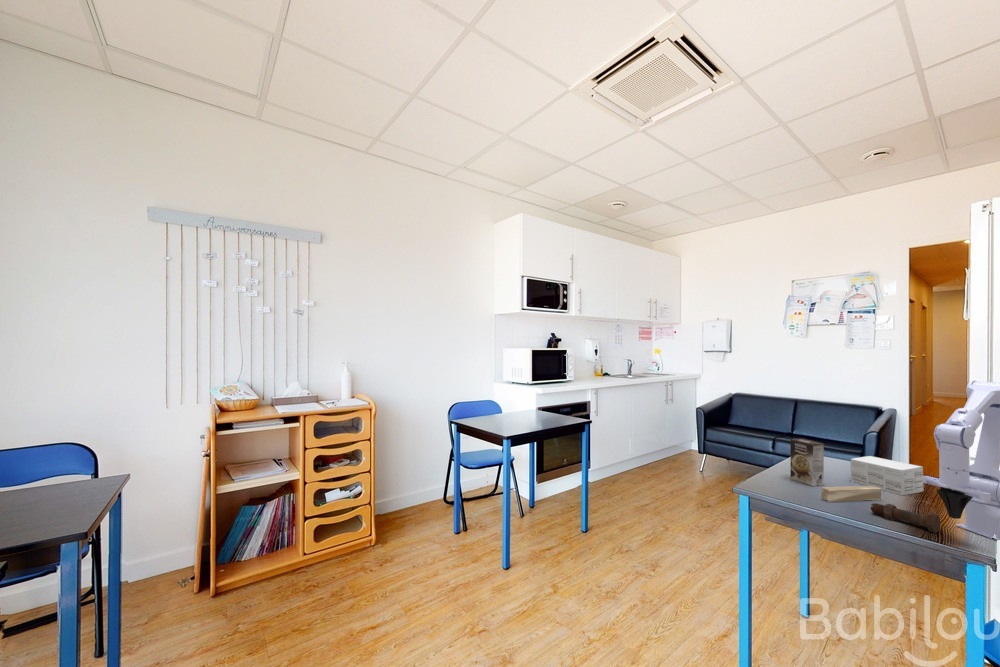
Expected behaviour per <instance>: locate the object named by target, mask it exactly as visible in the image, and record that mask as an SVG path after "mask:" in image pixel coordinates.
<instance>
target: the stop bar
mask: <svg viewBox="0 0 1000 667" xmlns="http://www.w3.org/2000/svg"><path fill="white" fill-rule="evenodd" d="M821 499H822V500H823V499H825V500H827V501H826V502H828V501H829V502H828V503H841V502H842V501H845V502H846V501H847V502H865V501H864V500H872V501H882V490H881V488H878V487H875V486H866V485H854V486H851V485H850V486H829V487H827V486H825V487H822V486H821ZM825 500H824V501H825ZM862 500H863V501H862ZM842 503H843V502H842Z"/></svg>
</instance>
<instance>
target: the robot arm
mask: <svg viewBox="0 0 1000 667" xmlns="http://www.w3.org/2000/svg"><path fill="white" fill-rule="evenodd" d="M965 390H966V396H967V398H968V399H967V401H966V403H965V405H964V406H963V407H959V408H957V409H955V410H954V412H952V414H951V415H950V416H949V418H948V419H947V420H946V422H945V423H941V424H937V425H936V427H935V428H934V432H933V437H934V440H935V443H936V449H937V450H938V457H939V458H938V460H939V466H938V468H939V470H938V471H939V474H938V475H939V477H933V476H930V475H923V476H922V482H923V484H928V485H931V486H935V487H939V489H937V490H936V493H937V494H938V496H939V497H940V498H941V500H942V502H943V504H944V507H945V510H946V511H947V515H948V517H949V518H952V519H958V520H959V519H961V518H962V515H963V513H964V523H956V525H955V526H956V527H959V528H961V529H965V530H967V531H969V532H972V533H974V534H977V535H981V536H984V537H986V538H988V539H992V538H993V536H994V534H995V535H996V540H995V541H1000V382H996V381H995V382H991V381H977V380H971V381H969V382H968V383H967V385H966V389H965ZM982 414H984V416H982ZM981 424H982V425H981ZM980 425H981V429H980V434H979V440H978V442H977V443H978V444H977V448H976V454H975V456H974V462H973V463H972V464H970V448H971V447H973V445H974V443H975V438H976V435H977V434H976V431H977V429H978V428H979V427H980ZM992 540H993V539H992Z"/></svg>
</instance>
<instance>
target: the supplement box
mask: <svg viewBox="0 0 1000 667" xmlns="http://www.w3.org/2000/svg"><path fill="white" fill-rule="evenodd" d="M922 476H924V466H921V465H917V464H911V463H905V462H901V461H897V460H891V459H887V458H883V457H882V458H881V457H877V456H873V455H867V456H861V457H852V458H850V482H851V481H852V483H855V482H856V484H859V483H860V484H859V485H862V484H863V485H862V486H866V485H867V486H875V487H878V488H881V489H882V490H881V491H885V492H888V491H889V492H888V493H892V492H893V493H892V494H896V495H899V496H908V495H912V494H916V493H922V492H925V491H924V483H923V482H922Z"/></svg>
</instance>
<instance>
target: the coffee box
mask: <svg viewBox="0 0 1000 667" xmlns="http://www.w3.org/2000/svg"><path fill="white" fill-rule="evenodd" d="M824 444H825V443H822V442H818V441H814V440H809V439H806V438H790V459H789V460H790V480H792V481H795V482H798V481H799V482H798V483H801V482H802V483H801V484H804V483H805V484H804V485H807V484H808V486H810V485H811V487H817V485H819V486H824V483H825V482H824V481H825V480H824V471H825V470H824V463H825V462H824V459H825V457H824V456H825V454H824V452H825V448H824V447H825V445H824Z"/></svg>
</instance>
